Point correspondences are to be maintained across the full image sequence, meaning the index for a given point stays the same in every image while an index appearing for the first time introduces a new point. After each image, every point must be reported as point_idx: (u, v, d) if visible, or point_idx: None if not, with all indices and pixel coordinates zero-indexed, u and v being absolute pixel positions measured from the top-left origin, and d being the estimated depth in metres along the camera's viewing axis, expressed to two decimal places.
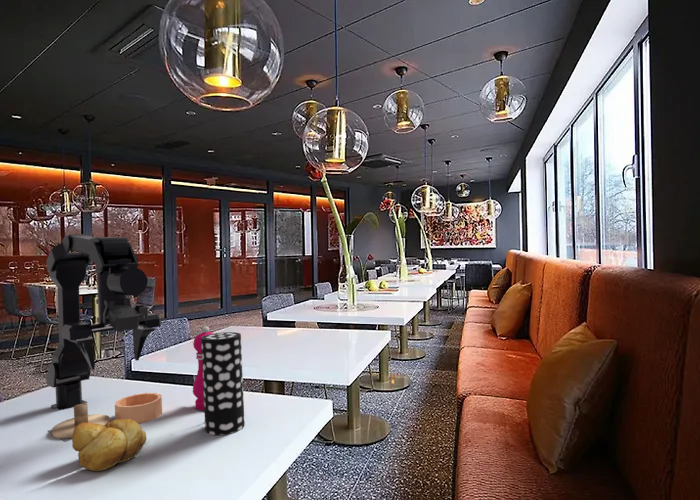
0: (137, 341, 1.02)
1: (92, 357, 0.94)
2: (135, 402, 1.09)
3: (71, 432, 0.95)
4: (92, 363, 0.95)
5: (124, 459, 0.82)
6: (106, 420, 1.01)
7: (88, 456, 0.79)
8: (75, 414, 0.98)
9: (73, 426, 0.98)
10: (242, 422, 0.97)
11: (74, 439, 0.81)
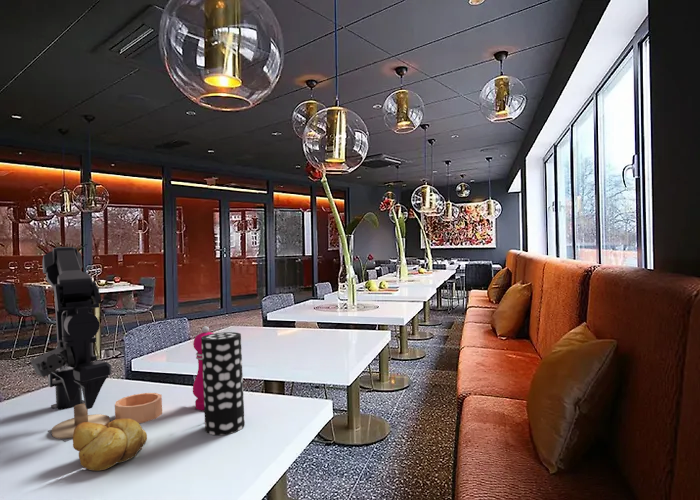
0: None
1: (66, 389, 1.02)
2: (135, 402, 1.09)
3: (71, 432, 0.95)
4: (67, 395, 1.02)
5: (124, 459, 0.82)
6: (106, 420, 1.01)
7: (88, 456, 0.79)
8: (75, 414, 0.98)
9: (73, 426, 0.98)
10: (242, 422, 0.97)
11: (75, 439, 0.81)
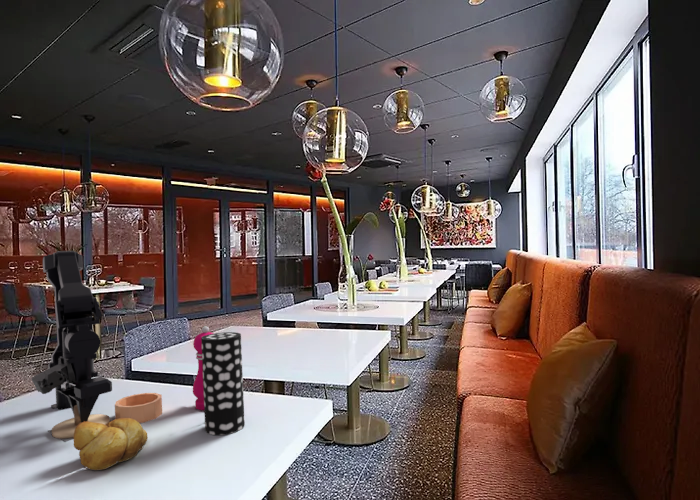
0: None
1: (72, 408, 1.00)
2: (135, 402, 1.09)
3: (71, 432, 0.95)
4: (73, 413, 1.00)
5: (125, 458, 0.83)
6: (106, 420, 1.01)
7: (88, 455, 0.80)
8: (75, 414, 0.98)
9: (73, 426, 0.98)
10: (242, 422, 0.97)
11: (75, 438, 0.81)
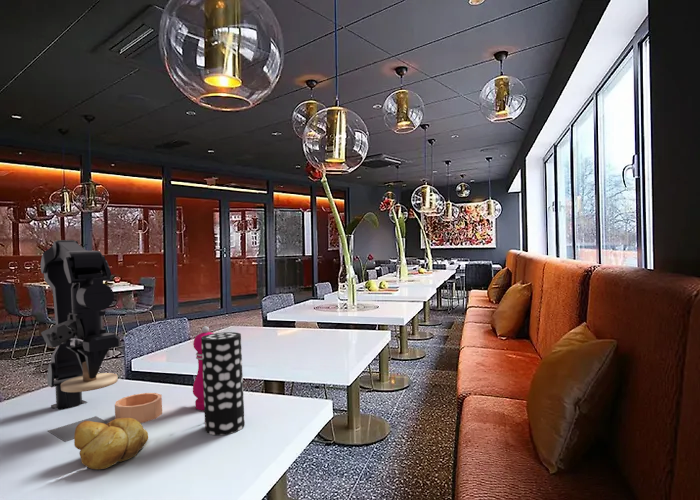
0: None
1: (81, 364, 1.01)
2: (135, 402, 1.09)
3: (80, 386, 0.95)
4: (82, 370, 1.01)
5: (125, 458, 0.83)
6: (114, 377, 1.01)
7: (89, 454, 0.80)
8: (84, 370, 0.99)
9: (82, 382, 0.99)
10: (242, 422, 0.97)
11: (76, 437, 0.81)
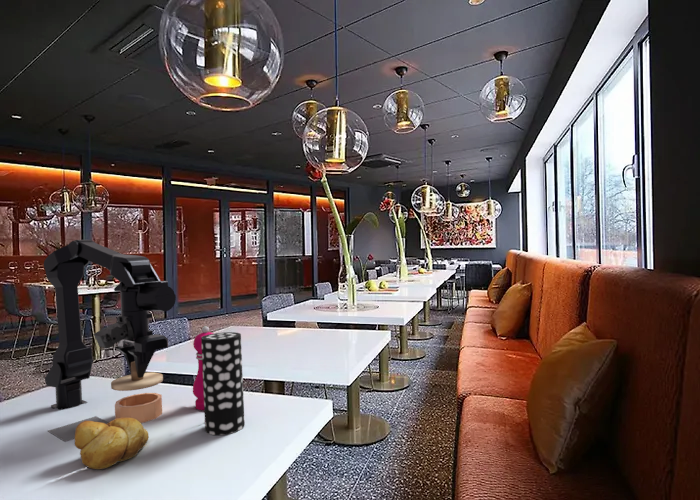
0: None
1: (128, 364, 1.06)
2: (135, 402, 1.09)
3: (130, 385, 1.01)
4: (130, 369, 1.06)
5: (125, 458, 0.83)
6: (160, 376, 1.07)
7: (89, 454, 0.80)
8: (132, 369, 1.04)
9: (130, 381, 1.04)
10: (242, 422, 0.97)
11: (76, 437, 0.81)
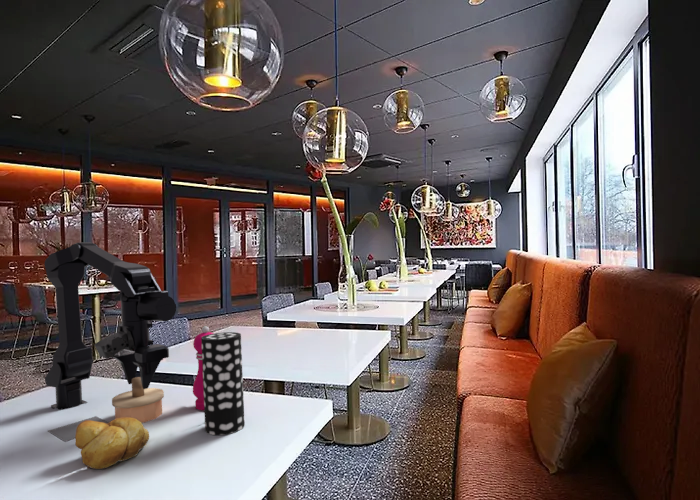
0: None
1: (125, 373, 1.07)
2: None
3: (131, 402, 1.01)
4: (126, 378, 1.07)
5: (125, 457, 0.83)
6: (161, 392, 1.07)
7: (89, 454, 0.80)
8: (133, 386, 1.04)
9: (131, 397, 1.04)
10: (242, 422, 0.97)
11: (77, 437, 0.82)
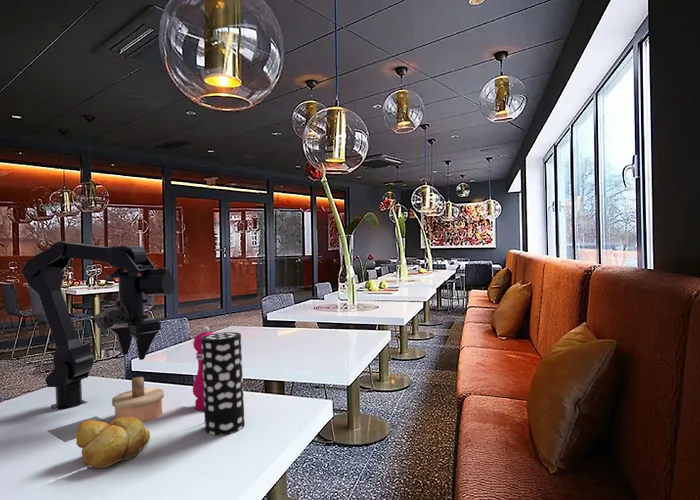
0: None
1: (120, 344, 1.16)
2: None
3: (131, 402, 1.01)
4: (121, 349, 1.16)
5: (126, 457, 0.83)
6: (161, 392, 1.07)
7: (90, 453, 0.80)
8: (133, 386, 1.04)
9: (131, 397, 1.04)
10: (242, 422, 0.97)
11: (78, 436, 0.82)
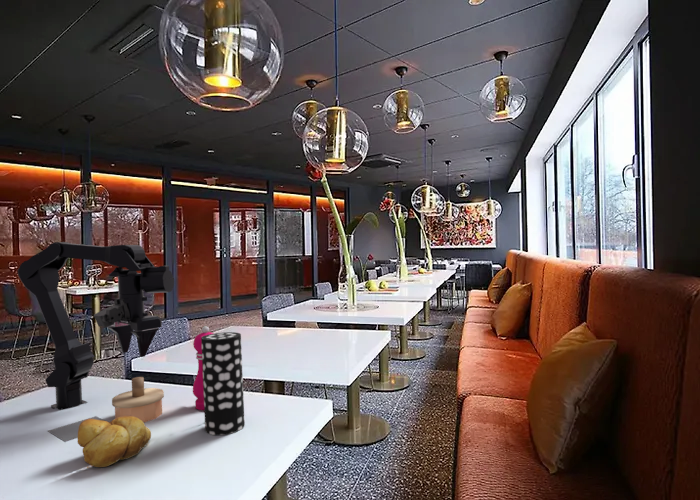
0: None
1: (120, 342, 1.17)
2: None
3: (131, 402, 1.01)
4: (121, 347, 1.17)
5: (126, 456, 0.83)
6: (161, 392, 1.07)
7: (91, 452, 0.81)
8: (133, 386, 1.04)
9: (131, 397, 1.04)
10: (242, 422, 0.97)
11: (79, 435, 0.82)
